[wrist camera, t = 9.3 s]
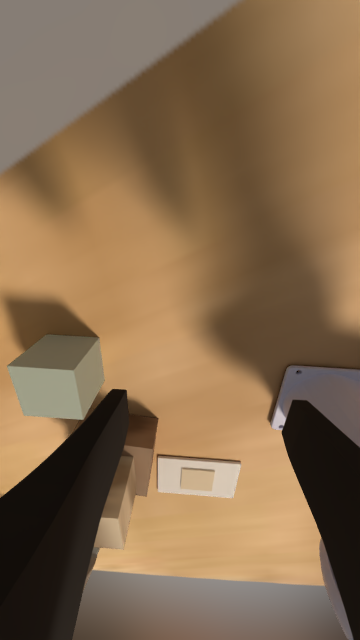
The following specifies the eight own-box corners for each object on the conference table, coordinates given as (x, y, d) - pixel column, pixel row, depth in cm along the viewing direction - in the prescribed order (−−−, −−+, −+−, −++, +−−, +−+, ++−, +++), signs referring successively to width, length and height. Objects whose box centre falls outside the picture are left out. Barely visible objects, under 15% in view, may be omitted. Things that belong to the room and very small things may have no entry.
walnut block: (158, 415, 25) (153, 449, 21) (152, 460, 28) (146, 496, 25) (87, 405, 25) (69, 437, 21) (89, 452, 28) (74, 486, 25)
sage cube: (99, 337, 21) (73, 370, 16) (104, 379, 23) (83, 419, 18) (46, 333, 21) (6, 365, 17) (57, 376, 23) (24, 415, 19)
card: (240, 461, 27) (241, 466, 27) (232, 495, 30) (233, 499, 29) (158, 455, 27) (157, 459, 27) (158, 489, 30) (157, 493, 30)
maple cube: (133, 456, 22) (118, 518, 18) (136, 487, 24) (123, 549, 20) (83, 453, 22) (55, 513, 18) (91, 483, 24) (67, 545, 20)
